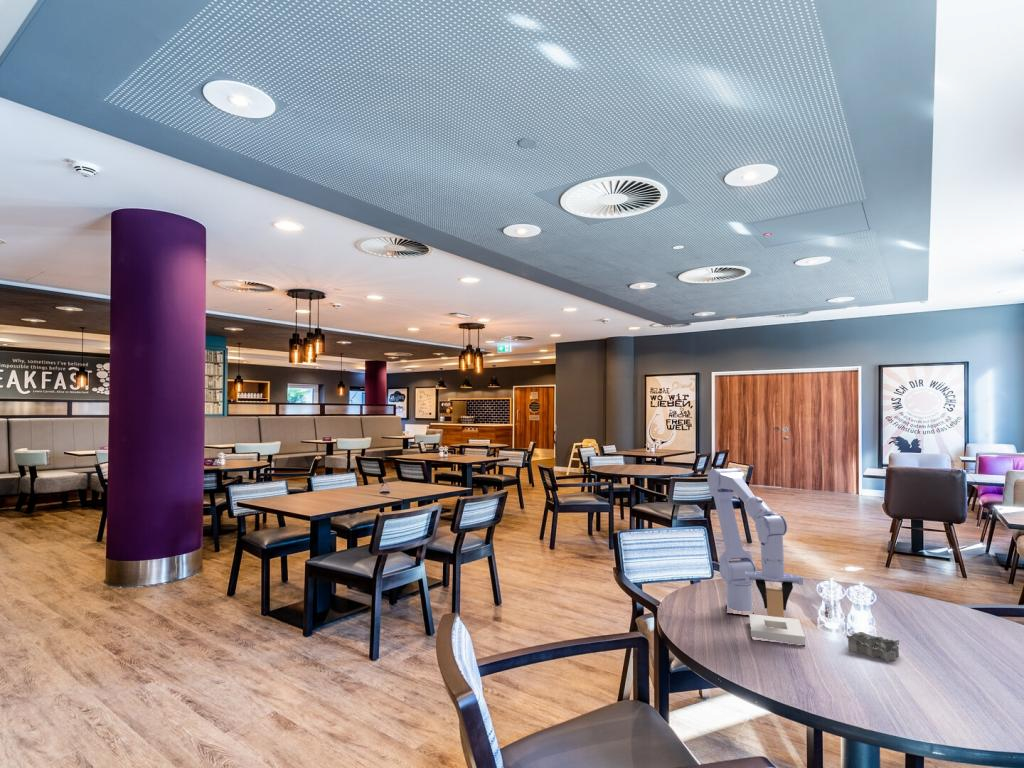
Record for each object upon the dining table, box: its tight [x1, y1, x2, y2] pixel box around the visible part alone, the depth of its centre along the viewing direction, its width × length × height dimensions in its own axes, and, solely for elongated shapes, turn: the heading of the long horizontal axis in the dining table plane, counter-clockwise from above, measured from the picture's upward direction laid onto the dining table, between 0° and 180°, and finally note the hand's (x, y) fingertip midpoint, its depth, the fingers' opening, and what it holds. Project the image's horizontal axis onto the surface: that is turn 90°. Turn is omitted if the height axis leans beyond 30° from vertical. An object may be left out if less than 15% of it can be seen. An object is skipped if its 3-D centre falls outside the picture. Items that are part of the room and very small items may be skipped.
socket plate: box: [748, 613, 806, 646], centre depth 153 cm, size 13×13×2 cm
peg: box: [766, 585, 785, 618], centre depth 153 cm, size 4×4×7 cm
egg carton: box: [846, 631, 900, 661], centre depth 140 cm, size 11×8×4 cm
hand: (774, 608), depth 153 cm, fingers closed on peg, 4 cm apart
